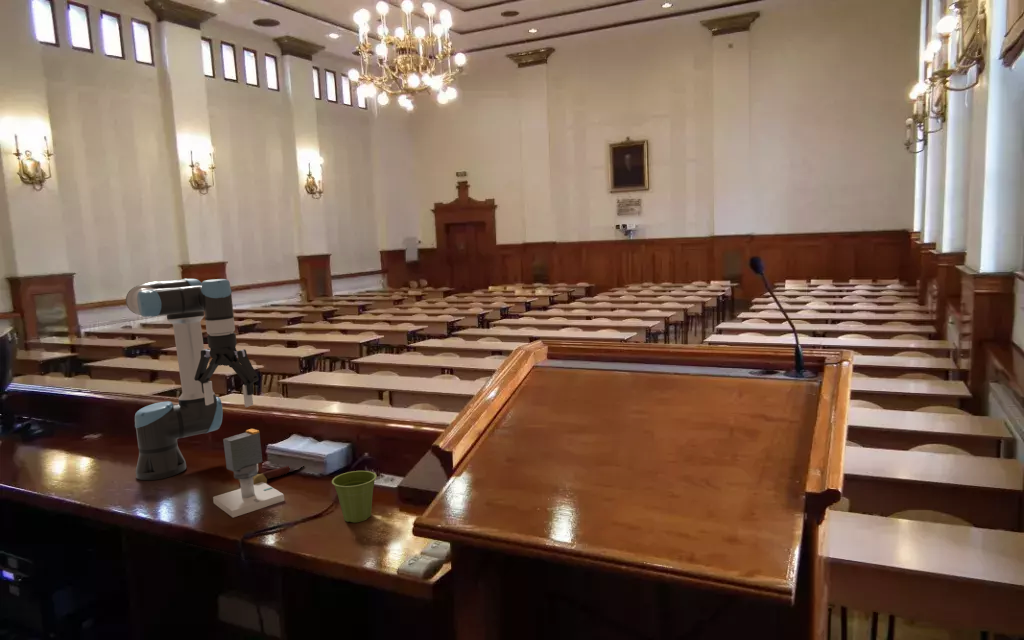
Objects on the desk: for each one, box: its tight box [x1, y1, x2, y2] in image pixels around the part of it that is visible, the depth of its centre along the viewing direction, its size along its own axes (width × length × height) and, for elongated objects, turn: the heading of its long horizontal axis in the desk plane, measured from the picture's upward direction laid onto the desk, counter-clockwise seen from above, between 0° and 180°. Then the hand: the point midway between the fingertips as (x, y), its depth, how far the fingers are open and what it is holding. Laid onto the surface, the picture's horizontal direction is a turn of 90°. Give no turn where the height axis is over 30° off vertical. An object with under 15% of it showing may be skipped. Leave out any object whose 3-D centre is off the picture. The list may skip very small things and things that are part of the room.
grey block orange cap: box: [222, 428, 264, 480], centre depth 192 cm, size 9×6×13 cm
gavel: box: [237, 465, 290, 485], centre depth 214 cm, size 21×5×10 cm
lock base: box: [212, 477, 285, 518], centre depth 194 cm, size 15×15×8 cm
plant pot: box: [331, 470, 378, 524], centre depth 179 cm, size 12×12×11 cm
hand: (229, 405), depth 192 cm, fingers open, 13 cm apart
